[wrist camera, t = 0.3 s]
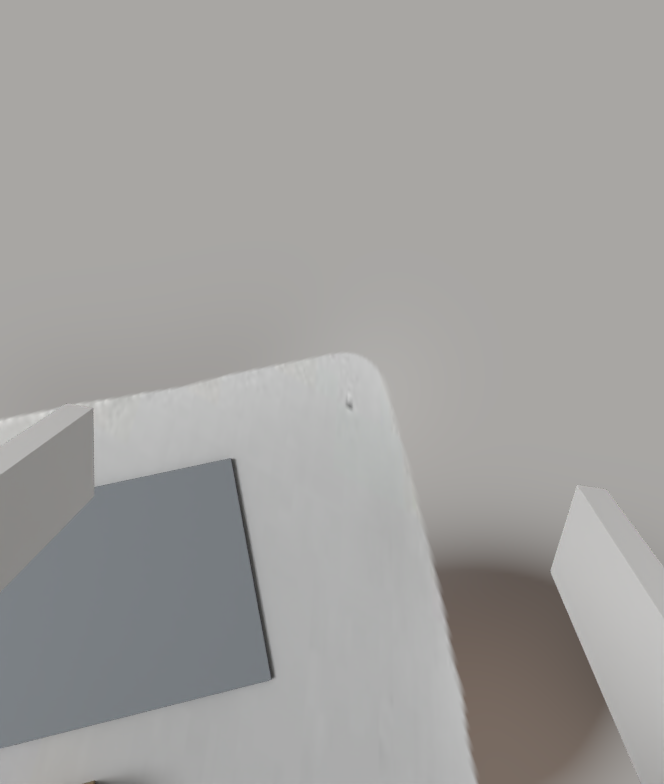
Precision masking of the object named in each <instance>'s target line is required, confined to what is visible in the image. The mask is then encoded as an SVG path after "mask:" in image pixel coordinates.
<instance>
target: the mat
mask: <svg viewBox="0 0 664 784" xmlns="http://www.w3.org/2000/svg"><path fill="white" fill-rule="evenodd" d="M269 680H271V673H270V667H269V662H268V656H267V651H266V645H265V640H264V634H263V629H262V623H261V618H260V612H259V607H258V602H257V596H256V591H255V585H254V580H253V574H252V569H251V563H250V558H249V552H248V547H247V541H246V536H245V530H244V525H243V520H242V514H241V509H240V503H239V498H238V492H237V487H236V481H235V476H234V470H233V465H232V459H231V458H230V459H225V460H221V461H216V462H211V463H206V464H202V465H197V466H192V467H188V468H183V469H178V470H173V471H169V472H164V473H159V474H154V475H150V476H145V477H140V478H136V479H131V480H126V481H121V482H117V483H112V484H107V485H103V486H98V487H94V497H93V498H92V499H91V500H90V501H89V502H88V503H87V504H86V505H85V506H84V507H83V508H82V509H81V510H80V511H79V512H78V513H77V514H76V515H75V516H74V517H73V518H72V519H71V520H70V521H69V522H68V523H67V524H66V525H65V526H64V527H63V528H62V529H61V531H60V532H59V533H58V534H57V535H56V536H55V537H54V538H53V539H52V540H51V541H50V542H49V543H48V544H47V545H46V546H45V547H44V548H43V549H42V550H41V551H40V552H39V553H38V554H37V555H36V556H35V557H34V558H33V559H32V560H31V561H30V562H29V563H28V564H27V565H26V566H25V567H24V568H23V569H22V570H21V571H20V572H19V573H18V574H17V576H16V577H15V578H14V579H13V580H12V581H11V582H10V583H9V584H8V585H7V586H6V587H5V588H4V589H3V590H2V591H1V592H0V748H4V747H8V746H12V745H16V744H20V743H24V742H28V741H32V740H36V739H40V738H44V737H48V736H52V735H55V734H59V733H63V732H67V731H71V730H75V729H79V728H83V727H87V726H91V725H95V724H99V723H103V722H107V721H111V720H115V719H119V718H123V717H127V716H131V715H135V714H138V713H142V712H146V711H150V710H154V709H158V708H162V707H166V706H170V705H174V704H178V703H182V702H186V701H190V700H194V699H198V698H202V697H206V696H210V695H214V694H218V693H221V692H225V691H229V690H233V689H237V688H241V687H245V686H249V685H253V684H257V683H261V682H265V681H269Z"/></svg>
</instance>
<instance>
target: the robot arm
mask: <svg viewBox="0 0 664 784" xmlns="http://www.w3.org/2000/svg"><path fill="white" fill-rule="evenodd" d="M93 497H94V426H93V408H91V407H85V406H79V405H72V404H65V405H63V406H62V407H60V408H59V409H57V410H55V411H54V412H52V413H51V414H49V415H48V416H46V417H45V418H43V419H42V420H40V421H38V422H37V423H35V424H34V425H32V426H31V427H29V428H28V429H26V430H25V431H23V432H21V433H20V434H18V435H17V436H15V437H14V438H12V439H11V440H9V441H8V442H6V443H4V444H3V445H1V446H0V592H1V591H2V590H3V589H4V588H5V587H6V586H7V585H8V584H9V583H10V582H11V581H12V580H13V579H14V578H15V577H16V576H17V574H18V573H19V572H20V571H21V570H22V569H23V568H24V567H25V566H26V565H27V564H28V563H29V562H30V561H31V560H32V559H33V558H34V557H35V556H36V555H37V554H38V553H39V552H40V551H41V550H42V549H43V548H44V547H45V546H46V545H47V544H48V543H49V542H50V541H51V540H52V539H53V538H54V537H55V536H56V535H57V534H58V533H59V532H60V531H61V529H62V528H63V527H64V526H65V525H66V524H67V523H68V522H69V521H70V520H71V519H72V518H73V517H74V516H75V515H76V514H77V513H78V512H79V511H80V510H81V509H82V508H83V507H84V506H85V505H86V504H87V503H88V502H89V501H90V500H91V499H92V498H93ZM550 572H551V574H552V577H553V579H554V581H555V584H556V586H557V588H558V591H559V593H560V595H561V598H562V600H563V602H564V605H565V607H566V610H567V612H568V614H569V617H570V619H571V621H572V624H573V626H574V628H575V631H576V633H577V635H578V638H579V640H580V642H581V645H582V647H583V649H584V651H585V654H586V656H587V659H588V661H589V663H590V666H591V668H592V670H593V673H594V675H595V677H596V680H597V682H598V684H599V687H600V689H601V692H602V694H603V696H604V699H605V701H606V703H607V706H608V708H609V710H610V713H611V715H612V717H613V720H614V722H615V724H616V727H617V729H618V731H619V734H620V736H621V738H622V741H623V743H624V745H625V748H626V750H627V752H628V755H629V757H630V759H631V762H632V764H633V767H634V769H635V771H636V773H637V776H638V778H639V780H640V783H641V784H664V567H663V565H662V564H661V562H660V561H659V560H658V558H657V557H656V556H655V554H654V553H653V552H652V550H651V549H650V547H649V546H648V545H647V543H646V542H645V541H644V539H643V538H642V537H641V535H640V534H639V533H638V531H637V530H636V528H635V527H634V526H633V524H632V523H631V522H630V520H629V519H628V518H627V516H626V515H625V514H624V512H623V511H622V510H621V508H620V507H619V505H618V504H617V503H616V502H615V500H614V499H613V497H612V496H611V495H610V493H609V492H608V491H607V489H602V488H596V487H589V486H583V485H577V487H576V490H575V493H574V496H573V500H572V503H571V506H570V509H569V512H568V516H567V519H566V522H565V526H564V529H563V532H562V535H561V538H560V542H559V545H558V548H557V552H556V555H555V558H554V561H553V565H552V568H551V571H550Z"/></svg>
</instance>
